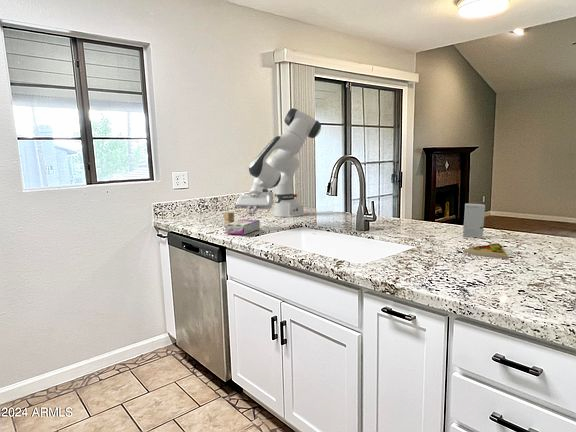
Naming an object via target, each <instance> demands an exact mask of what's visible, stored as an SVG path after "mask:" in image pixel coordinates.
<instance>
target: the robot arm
mask: <svg viewBox="0 0 576 432" xmlns="http://www.w3.org/2000/svg"><path fill="white" fill-rule="evenodd" d="M284 124H285V125H286V126H287V128H286V129H285V131H284V133H283V134H281V135H280V136H279V135H277V136H275V137H273V138H272V139H271V140H270V142H269V143H268V144H267V145H266V146H265V147H264V148H263V150H262V151H261V152H260V153H259V154H258V155H257V156H256V157H255V158H254V159H253V160H252V161H251V162H250V163H249V166H248V171H249V175H250V176H252V177H254V179H253V182H252V185H251V187H250V189H249V191H248V193H244V192H243V193H242V194H239V196H238V197H237V200H236V201H235V206H236V207H237V209H243V210H244V209H247V210H248V211H247V214H248V215H249V216H251V215H254V214H255V213H256V212H257V211H258V210H271V209H272V207H273V205H274V204H275V205H274V212H273V217H277V218H278V217H280V218H292V217H293V218H294V217H299V216H304V215H307V214H308V212H306V211H304V210H305V209H304V206H303V204H302V203H301V202H299V201H298V200H297V199H295V198H297V197H298V195H299V194H298V193H297V194H296V193H293V182H294V181H293V180H294V176H295V173H296V171H297V170H298V169H299V167H300V160H299V158H298V157H297V156H296V155H298V154H299V153H300V151H301V149H302V147H303V146H304V144H305V142H306V139H307V138H310V139H315V138H316V137H318V135H319V134H320V133H321V130H322V124H321V122H320V121H319V120H316V119H315V118H314V117H312V116H311V115H309V114H307V113H305V112H302V111H300V110H298V109H297V108H290V109H289V110H288V111H287V112H286V113H285V115H284ZM275 150H276V151H275ZM274 151H275V153H274V154H272V153H273V152H274ZM271 154H272V155H271ZM273 188H275V190H274V193H275V194H274V196H273V192H272V191H271V189H273ZM273 199H274V201H273Z"/></svg>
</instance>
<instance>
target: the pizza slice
mask: <svg viewBox="0 0 576 432" xmlns="http://www.w3.org/2000/svg"><path fill="white" fill-rule="evenodd" d="M463 252H464V253H463ZM462 253H463V254H467V253H468V254H467V255H471V254H472V255H471V256H477V257H484V258H493V259H502V260H508V259H509V256H508V254H507V253H506V251H505V249H504V248H503V246H502V245H501V244H500V243H498V242H494V243H490V244H487V245H485V244H484V245H478V246H477V245H476V246H471V247H468V248H465V249H463V251H462Z"/></svg>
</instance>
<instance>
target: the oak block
mask: <svg viewBox="0 0 576 432" xmlns="http://www.w3.org/2000/svg"><path fill="white" fill-rule="evenodd" d="M223 222H224V223H223V225H224V228H225V224H229V223H232V222H235V212H233V211H232V212H231V211H227V212H226V211H225V212H223Z"/></svg>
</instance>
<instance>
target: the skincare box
mask: <svg viewBox="0 0 576 432" xmlns="http://www.w3.org/2000/svg"><path fill="white" fill-rule="evenodd" d="M485 213H486V205H485V204H482V203H464V216H463V218H464V219H463V229H462V237H463V238H470V237H477V238H476V239H483V236H484V224H485Z"/></svg>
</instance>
